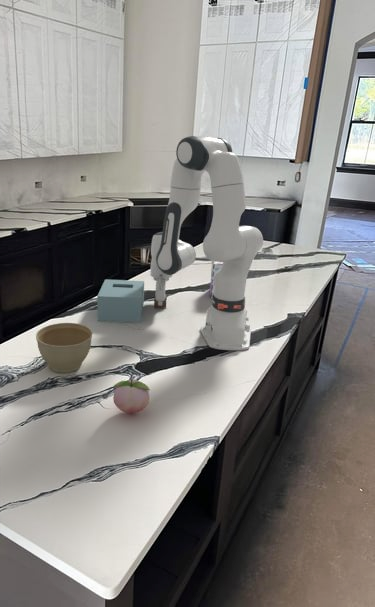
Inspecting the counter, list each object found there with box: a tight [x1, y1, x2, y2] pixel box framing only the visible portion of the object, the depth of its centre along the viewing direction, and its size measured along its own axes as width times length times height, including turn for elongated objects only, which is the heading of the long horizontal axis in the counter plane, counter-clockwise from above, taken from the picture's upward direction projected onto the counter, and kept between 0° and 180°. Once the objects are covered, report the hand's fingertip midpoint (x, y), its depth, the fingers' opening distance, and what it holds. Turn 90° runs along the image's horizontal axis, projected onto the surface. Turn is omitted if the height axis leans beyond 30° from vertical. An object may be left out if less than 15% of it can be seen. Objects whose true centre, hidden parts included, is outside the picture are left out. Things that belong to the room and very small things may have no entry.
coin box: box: [96, 279, 145, 324], centre depth 179 cm, size 20×16×10 cm
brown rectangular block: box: [153, 295, 167, 309], centre depth 187 cm, size 2×5×4 cm, turn 91°
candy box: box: [209, 261, 223, 300], centre depth 204 cm, size 14×6×16 cm, turn 179°
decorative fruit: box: [112, 378, 151, 414], centre depth 116 cm, size 9×8×10 cm
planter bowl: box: [35, 322, 93, 374], centre depth 136 cm, size 16×16×11 cm
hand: (160, 303), depth 187 cm, fingers closed on brown rectangular block, 2 cm apart
